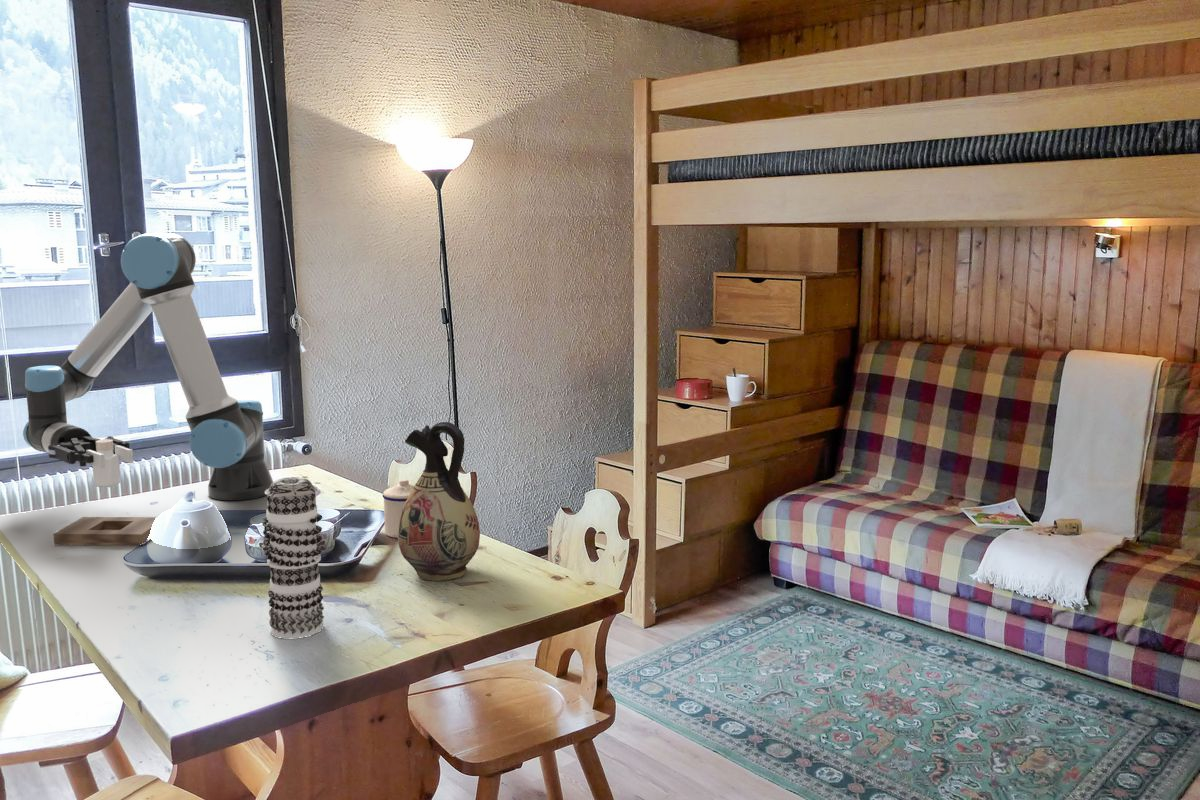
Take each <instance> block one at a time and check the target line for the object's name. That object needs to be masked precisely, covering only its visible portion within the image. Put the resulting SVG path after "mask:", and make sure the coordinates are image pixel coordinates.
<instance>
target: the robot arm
mask: <svg viewBox="0 0 1200 800" xmlns="http://www.w3.org/2000/svg"><path fill="white" fill-rule="evenodd" d="M196 259H197V257H196V253H195V250H194V248H193V247H192V245H191V244H190V243H189V241H188V240H187V239H186V238H185V237H182V236H181V235H179V234H176V233H172V232H146V233H143V234H140V235H137V236H135V237H133V238H132V239H130V240H129V241H128V242H127V244H125V246H124V247H123V249H122V251H121V254H120V266H121V270H122V273H123V274H124V276H125V277H126V278H125V279H127V280H128V281H129V284H128V285H127V286H126V288H124V290H123V291H122V293H120V295H119V296H118V297H117V298H116V300H114V302H113V303H112V304H111V305H110V307H109V308H108V309H107V310H106V312H105V313H104V314H103V315H102V317H101V318H100V319H99V320H98V321H97V323H96V324H95V325H94V326H93V327H92V328H91V329H90V331H89V332H88V333H87V334H86V335H85V337H84V338H83V339H82V340H81V341H80V343H78V345H77V346H76V347H75V348H74V350H73V351H72V352H71V353H70V354H69V355H68V358H67V359H66V360H65V361H64V362H63V363H62V364H61V366H60V365H38V366H37V365H36V366H32V367H31V366H30V367H28V368H26V370H25V373H24V376H25V377H24V387H25V393H26V394H25V395H26V404H27V413H28V417H27V419H28V421H27V422H26V424H25V426H24V427H23V430H22V431H23V432H22V435H23V440H24V441H25V443H26V444H27V446H30V447H32V449H34V450H36V451H38V452H43V453H46V454H48V458H51V459H57V460H59V461H62V462H64V463H67V464H70V465H75V464H76V463H77V462H79V466H80V467H86V466H87V464H89V465H91V466H92V465H94V466H97V467H100V468H105V458H104V454H101V453H98V452H97V450H96V441H98V440H101V439H100V438H96V437H92V435H91V434H90V433H89V432H88V431H87V429H84V428H82V427H78V426H75V425H73V424H70V423H68V420H67V419H68V418H67V417H68V416H67V405H66V403H68V402H70V401H72V400H75V399H79V398H81V397H83V396H85V395H87V393H89V391H91V389H92V388H93V384H94V381H95V380H96V378H97V377H98V376H99V375H100V374H101V372H102V371H103V370H104V369H105V368H106V367H107V365H108V364H109V362H110V361H111V360H112V359H113V358H114V356H115V355H117V353H118V352H119V351H120V350H121V349H122V347H124V346H125V344H126V343H127V341H128V340H129V339H130V338H131V337H132V336H133V334H134V333H136V331H137V329H139V327H140V326H141V325H142V324H143V323H144V322H145V320H146V319H147V318H148V317H149V315H151V313H152V312H153V314H154V316H155V320H156V322H157V325H158V328H159V330H160V333H161V335H162V338H163V340H164V343H165V346H166V348H167V351H168V354H169V356H170V359H171V362H172V364H173V367H174V370H175V372H176V374H177V378H178V381H179V383H180V386H181V388H182V391H183V393H184V396H185V398H186V401H187V404H188V411H187V412H186V414H185V419H186V422H187V424H188V427H189V430H190V432H191V433H190V435H189V449H190V451H191V453H192V455H193V456H194V458H195V459H196V460H197V461H198V462H199V463H201V464H202V465H205V466H206V467H210V468H212V470H211V475H210V478H209V481H208V487H207V493H208V496H209V498H212V499H215V500H220V501H243V500H244V501H245V500H250V499H251V500H252V499H258V498H262V497H265V496H267V494H265V490H267V489H269V488H270V486H271V484H272V483H273V482H274V480H273V477H272V475H271V472H270V469H269V468H268V465H267V462H266V460H265V457H266V455H265V440H264V439H265V438H264V435H265V434H264V420H263V419H264V418H263V417H264V412H263V407H262V404H261V402H260V401H258V400H254V399H253V400H250V399H249V400H248V399H246V400H245V399H243V400H242V399H241V400H238V399H236V398H234V397H232V396H230V395H229V394H228V392H227V389H226V387H225V384H224V382H223V379H222V376H221V373H220V370H219V368H218V365H217V362H216V359H215V357H214V353H213V350H212V348H211V346H210V343H209V341H208V338H207V334H206V333H205V329H204V326H203V324H202V321H201V318H200V317H199V316H200V315H199V313H198V310H197V308H196V305H195V303H194V299H193V297H192V292H193V291H194V289H195V287H196V284H195V282H194V279H193V276H192V273H193V272H194V270H195V267H196V261H197V260H196ZM104 439H110V440H113V448H114V449H113V454H115V455H118V456H119V461H122V462H126V463H128V464H132V463H134V450H133V449H132V448H130V442H127V441H126V440H125V441H124V440H121V439H118V438H115V437H113V436H110V435H109V436H107V437H105V438H104Z"/></svg>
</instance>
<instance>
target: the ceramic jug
mask: <svg viewBox="0 0 1200 800" xmlns="http://www.w3.org/2000/svg"><path fill="white" fill-rule="evenodd" d="M441 434H446V435H448V436H449V437H450V438H451V440H452V443H453V451H452V455H451V458H450V464H449V465H450V466H449V469H448V468H447V466H446V462H445V459H444V457H448V455H449V451H448V450H449V449H448V448H447V446H446V444H445V443H444V442H443V439H442V438H441ZM404 443H405V444H407V445H409V446H410V447H413V448H416V449H417V450H419V451H421V452H422V453H423V455H425V467H424V469H423V470H422V473H421V474H420V477H419V479H418V480H417V481H416V482H415V484H413V485H414V487H413V489H412V491H411V493H410V495H409V497H408V499H407V500H406V502H405V505H404V507H403V510H402V513H401V517H400V522H399V528H398V538H397V544H398V547H399V550H400V553H401V555H402V557H403V558H404V559H405V560H406V562H407V563H409V565H410V566H411V567H412V568H413V569H414V571H415V572H416V576H417V575H418V576H419V577H420V578H419V577H418V576H417V577H418V578H419V579H422V580H425V581H431V580H432V581H433V582H434V581H435V582H436V581H448V580H453V579H458V578H461V577H463V576H465V574H466V572H467V570H468V568H467V566H468V564H469V563H470V562H471V560H473V558H474V556H475V555H476V553H477V551H478V550H479V545H480V538H481V530H480V522H479V519H478V516H477V513H476V511H475V508H474V505H473V504H472V501H471V499H470V498H469V496H468V495H467V494H466V492H465V491H464V489H463V487H462V486H461V483H460V480H459V472H460V469H461V466H462V461H463V459H464V458H463V457H464V453H465V437H464V433H463V432H462V430H461V429H460V427H458V425H456V424H454V423H452V422H448V421H441V422H438V423H436V424H434V425H433V426H432V427H430V426H429V425H428V424H427V425H425V426H424V428H423V429H422V430H419V429H414V430H413V431H411V432H410V433H409V434H408V435H407V438H406V439H405V441H404Z"/></svg>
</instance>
